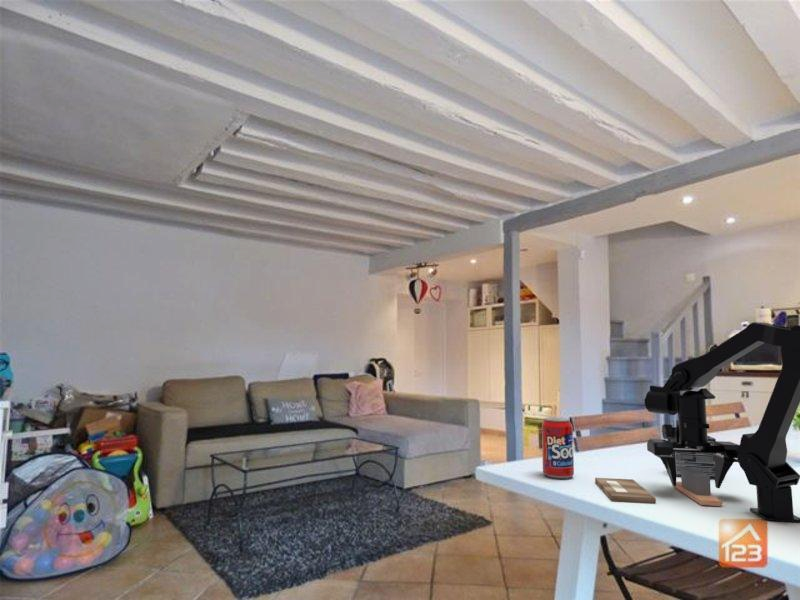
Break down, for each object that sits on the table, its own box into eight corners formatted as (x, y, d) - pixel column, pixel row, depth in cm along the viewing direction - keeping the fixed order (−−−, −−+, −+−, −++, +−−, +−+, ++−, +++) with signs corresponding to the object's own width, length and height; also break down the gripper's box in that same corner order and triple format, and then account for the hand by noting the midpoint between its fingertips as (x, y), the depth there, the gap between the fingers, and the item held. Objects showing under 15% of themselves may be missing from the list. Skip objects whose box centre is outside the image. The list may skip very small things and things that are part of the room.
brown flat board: (655, 503, 107) (655, 497, 108) (612, 501, 109) (611, 495, 109) (633, 484, 123) (633, 479, 123) (595, 482, 124) (595, 477, 125)
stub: (722, 506, 105) (720, 480, 106) (700, 504, 106) (699, 479, 107) (690, 486, 121) (689, 464, 122) (672, 485, 122) (671, 463, 122)
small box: (711, 474, 135) (709, 434, 136) (719, 480, 128) (717, 438, 129) (668, 471, 137) (666, 432, 139) (674, 477, 131) (672, 436, 132)
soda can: (555, 471, 136) (553, 415, 138) (580, 477, 130) (578, 419, 131) (536, 475, 132) (535, 417, 133) (561, 481, 125) (560, 421, 127)
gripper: (719, 414, 122) (723, 480, 120) (638, 412, 125) (641, 476, 123) (742, 420, 111) (747, 492, 109) (653, 418, 114) (656, 488, 112)
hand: (695, 486), depth 114 cm, fingers open, 9 cm apart
